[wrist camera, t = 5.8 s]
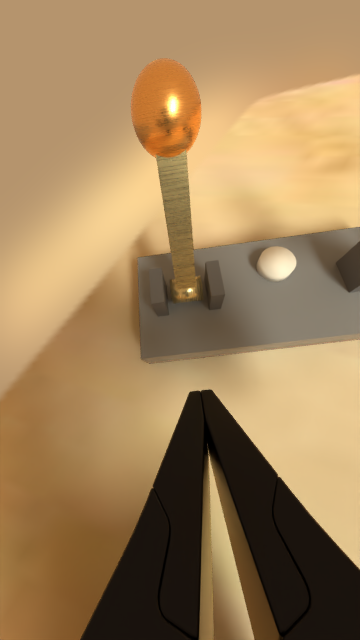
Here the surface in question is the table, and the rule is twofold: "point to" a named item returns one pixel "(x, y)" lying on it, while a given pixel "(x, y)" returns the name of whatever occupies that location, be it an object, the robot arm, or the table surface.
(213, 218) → the table surface
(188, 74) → the brass lever
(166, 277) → the switch panel
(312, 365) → the table surface
